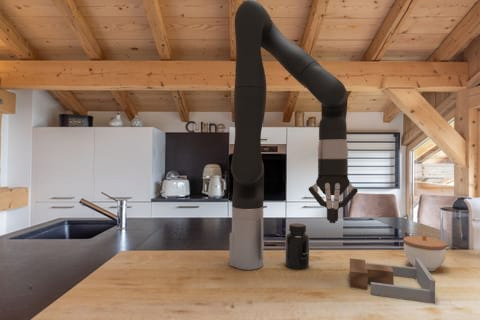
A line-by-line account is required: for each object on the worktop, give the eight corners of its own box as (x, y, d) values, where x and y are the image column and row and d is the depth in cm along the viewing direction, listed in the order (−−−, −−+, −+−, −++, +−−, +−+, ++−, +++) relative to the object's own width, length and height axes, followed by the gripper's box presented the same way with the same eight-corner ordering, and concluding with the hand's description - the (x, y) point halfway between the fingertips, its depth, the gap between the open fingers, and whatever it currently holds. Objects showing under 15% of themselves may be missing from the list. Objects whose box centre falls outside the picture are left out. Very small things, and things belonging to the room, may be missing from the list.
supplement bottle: (309, 271, 86) (309, 228, 86) (284, 269, 88) (284, 227, 87) (308, 262, 93) (309, 223, 93) (286, 260, 94) (286, 221, 94)
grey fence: (370, 294, 72) (371, 273, 72) (366, 271, 86) (366, 253, 86) (434, 303, 68) (435, 280, 68) (419, 277, 82) (419, 258, 82)
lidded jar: (405, 270, 87) (405, 237, 86) (401, 258, 96) (401, 229, 96) (450, 276, 83) (451, 242, 82) (441, 263, 92) (441, 232, 92)
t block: (350, 287, 76) (350, 271, 76) (349, 272, 85) (349, 258, 85) (395, 293, 73) (395, 276, 72) (389, 277, 82) (389, 262, 82)
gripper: (305, 157, 80) (305, 224, 80) (360, 157, 76) (360, 227, 76) (308, 157, 87) (308, 218, 87) (358, 157, 83) (358, 221, 83)
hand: (332, 222), depth 82 cm, fingers closed
